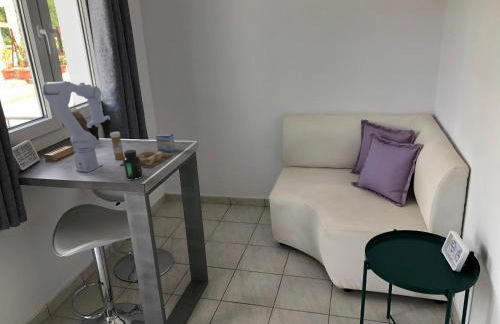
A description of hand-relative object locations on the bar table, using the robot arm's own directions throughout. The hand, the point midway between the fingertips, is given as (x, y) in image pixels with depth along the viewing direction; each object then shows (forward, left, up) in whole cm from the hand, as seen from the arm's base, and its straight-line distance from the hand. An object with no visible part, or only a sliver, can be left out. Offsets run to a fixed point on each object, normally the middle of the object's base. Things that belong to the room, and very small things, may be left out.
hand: (102, 137), depth 198 cm
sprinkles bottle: (0, -9, -11) cm, 14 cm away
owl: (+18, +30, -11) cm, 36 cm away
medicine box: (+15, -27, -11) cm, 32 cm away
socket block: (0, -25, -10) cm, 27 cm away
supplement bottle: (-20, -33, -11) cm, 40 cm away
